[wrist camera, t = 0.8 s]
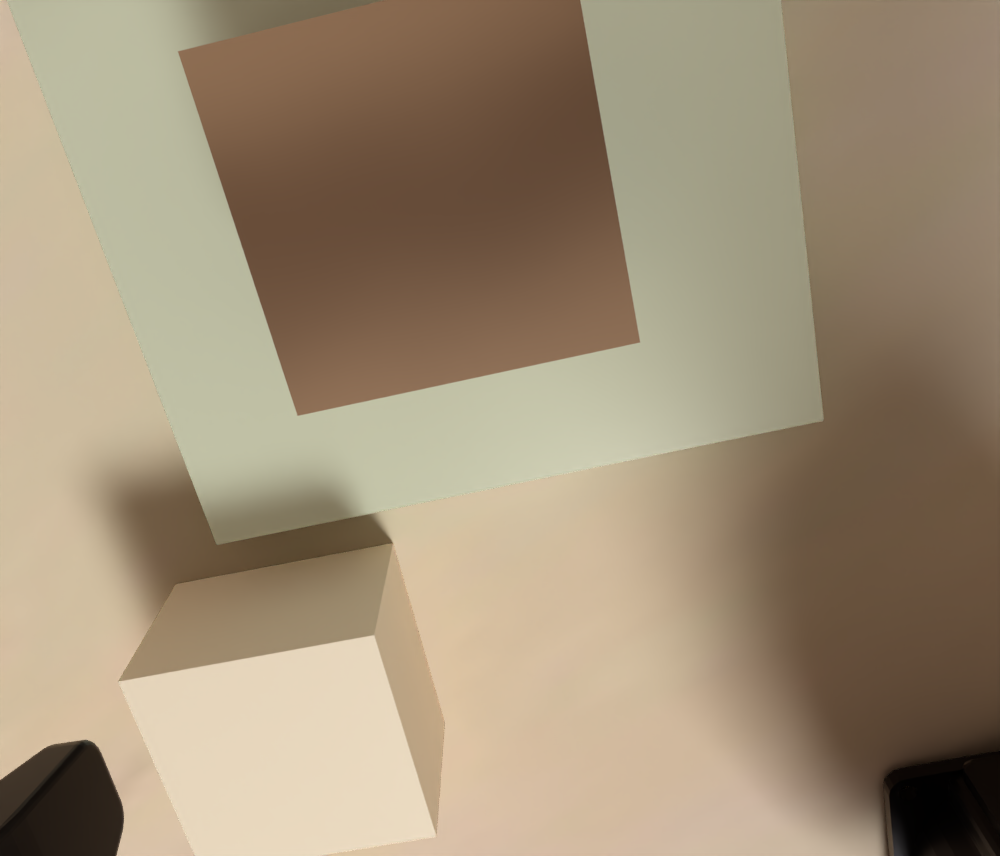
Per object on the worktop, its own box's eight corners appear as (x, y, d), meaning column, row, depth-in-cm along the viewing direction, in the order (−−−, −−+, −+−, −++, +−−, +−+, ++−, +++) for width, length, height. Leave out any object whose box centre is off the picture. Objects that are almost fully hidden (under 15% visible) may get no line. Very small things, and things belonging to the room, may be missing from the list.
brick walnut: (612, 286, 20) (639, 342, 16) (334, 346, 20) (297, 415, 16) (555, -28, 17) (571, -47, 14) (243, 49, 18) (178, 51, 14)
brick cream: (445, 718, 25) (436, 836, 21) (245, 753, 25) (202, 875, 22) (393, 539, 23) (374, 634, 19) (177, 580, 23) (118, 681, 20)
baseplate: (812, 408, 21) (823, 421, 21) (225, 528, 23) (216, 545, 22) (734, -332, 16) (745, -350, 16) (-23, -128, 17) (-46, -136, 17)
